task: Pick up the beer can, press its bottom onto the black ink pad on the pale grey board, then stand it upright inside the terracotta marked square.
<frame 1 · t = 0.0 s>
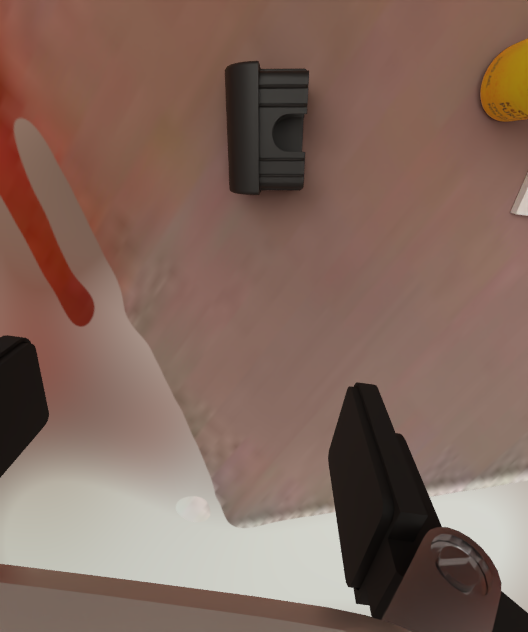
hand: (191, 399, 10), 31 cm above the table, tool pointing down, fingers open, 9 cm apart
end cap: (267, 135, 35), on the table
beer can: (509, 85, 32), on the table
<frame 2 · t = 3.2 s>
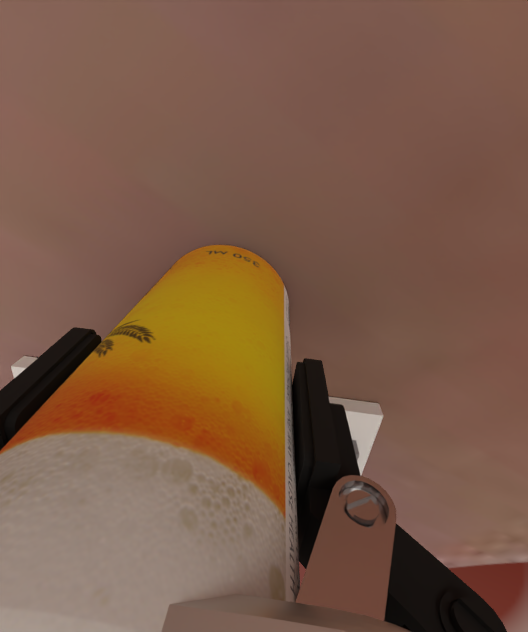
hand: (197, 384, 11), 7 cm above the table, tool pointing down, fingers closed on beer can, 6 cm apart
stamping board: (198, 455, 22), on the table
beer can: (227, 299, 17), on the table, touching gripper
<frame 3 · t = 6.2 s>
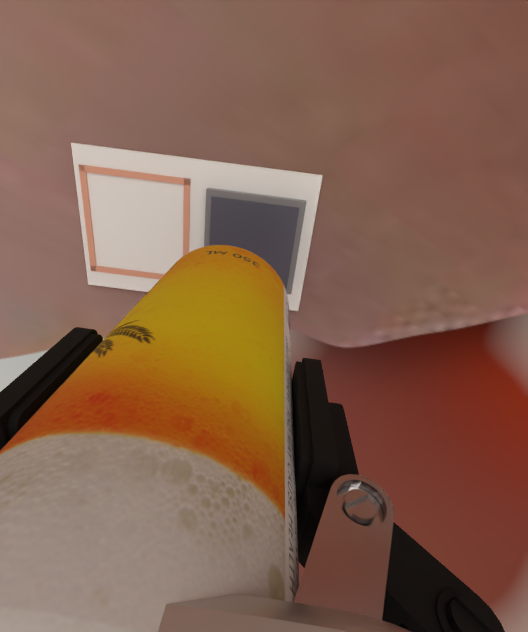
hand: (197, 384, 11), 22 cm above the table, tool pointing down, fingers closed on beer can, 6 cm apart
stamping board: (197, 232, 30), on the table
beer can: (227, 299, 17), point 15 cm above the table, touching gripper
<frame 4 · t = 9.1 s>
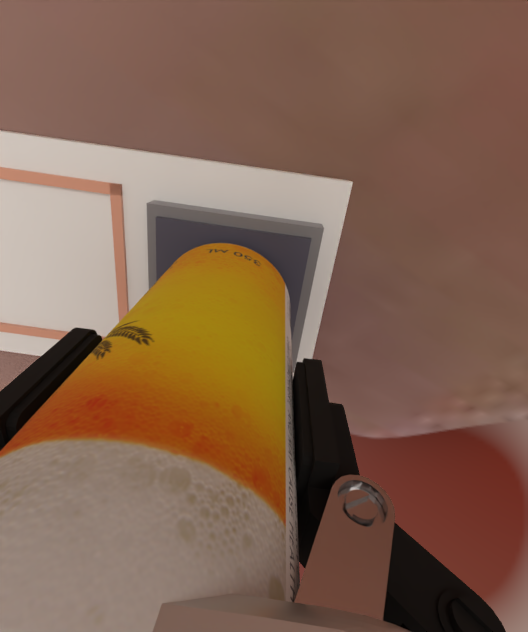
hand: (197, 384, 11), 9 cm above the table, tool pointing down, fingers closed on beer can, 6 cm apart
stamping board: (143, 270, 19), on the table
beer can: (228, 297, 17), point 2 cm above the table, touching gripper, stamping board
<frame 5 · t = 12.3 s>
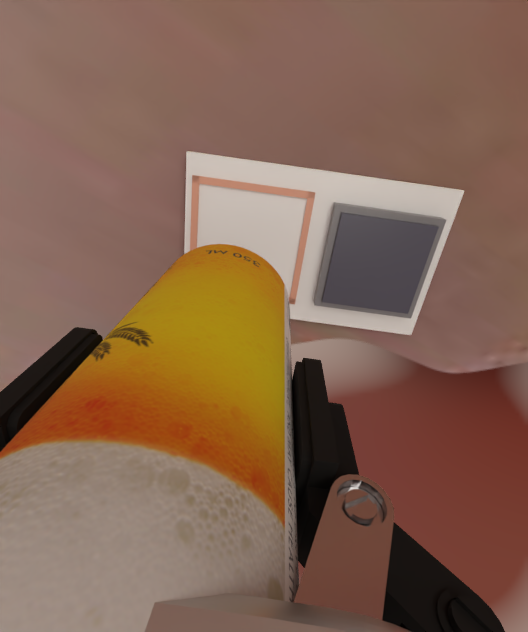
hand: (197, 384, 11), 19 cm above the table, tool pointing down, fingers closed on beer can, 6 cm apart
stamping board: (309, 249, 28), on the table
beer can: (227, 298, 17), point 12 cm above the table, touching gripper
when the fingers open (9 cm above the table, at t = 14.8 s): beer can drops 1 cm, resting on stamping board.
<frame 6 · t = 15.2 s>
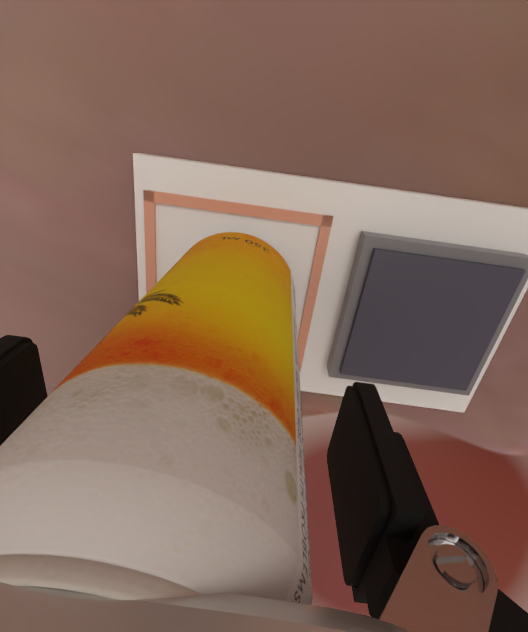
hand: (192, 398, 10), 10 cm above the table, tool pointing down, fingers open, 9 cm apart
stamping board: (321, 295, 19), on the table
beer can: (237, 284, 18), point 1 cm above the table, touching stamping board
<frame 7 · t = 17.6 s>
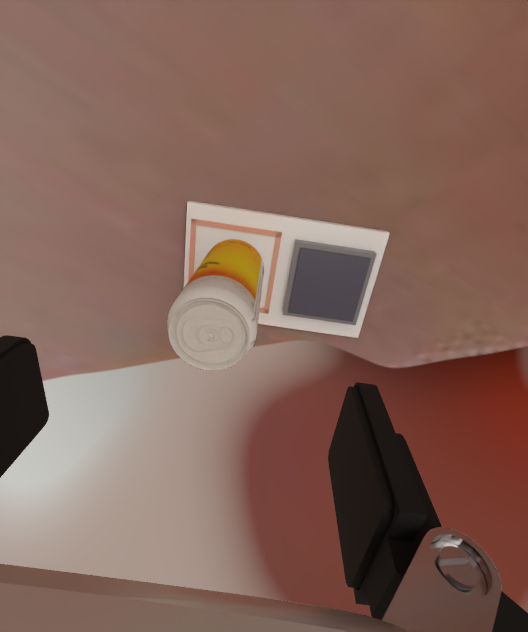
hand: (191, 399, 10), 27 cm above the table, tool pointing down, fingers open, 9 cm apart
stamping board: (279, 272, 37), on the table
beer can: (235, 265, 36), point 1 cm above the table, touching stamping board
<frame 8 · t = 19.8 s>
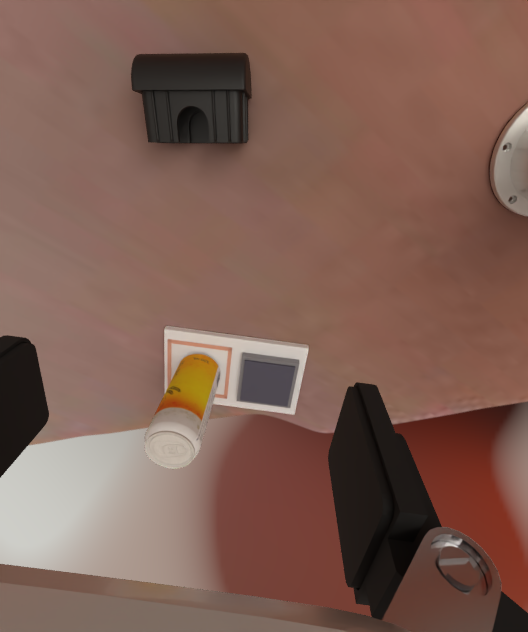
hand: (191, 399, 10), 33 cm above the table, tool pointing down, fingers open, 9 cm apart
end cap: (205, 105, 36), on the table
stamping board: (233, 370, 50), on the table
beer can: (201, 367, 49), point 1 cm above the table, touching stamping board
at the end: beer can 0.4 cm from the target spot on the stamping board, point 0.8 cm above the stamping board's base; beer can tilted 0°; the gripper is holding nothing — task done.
